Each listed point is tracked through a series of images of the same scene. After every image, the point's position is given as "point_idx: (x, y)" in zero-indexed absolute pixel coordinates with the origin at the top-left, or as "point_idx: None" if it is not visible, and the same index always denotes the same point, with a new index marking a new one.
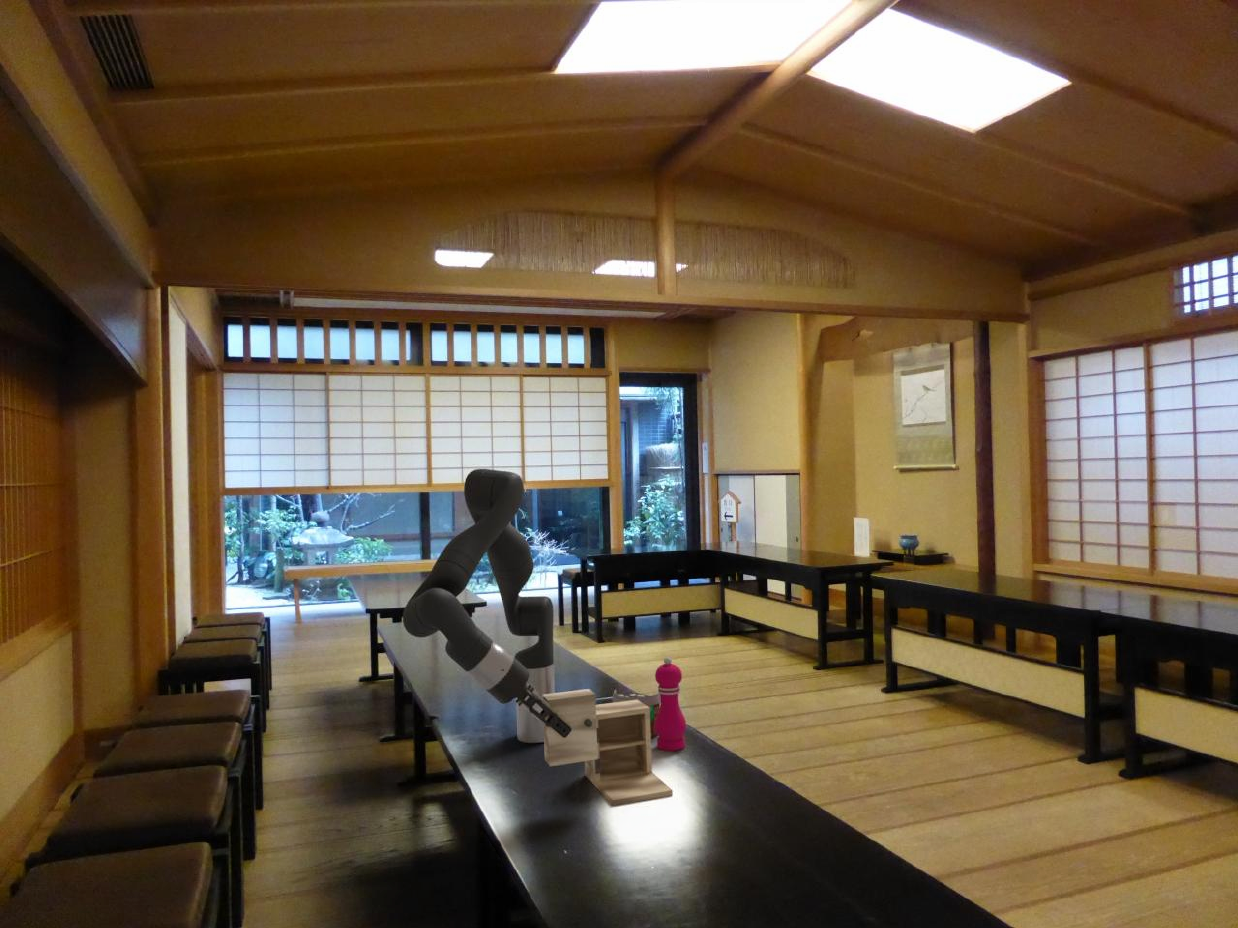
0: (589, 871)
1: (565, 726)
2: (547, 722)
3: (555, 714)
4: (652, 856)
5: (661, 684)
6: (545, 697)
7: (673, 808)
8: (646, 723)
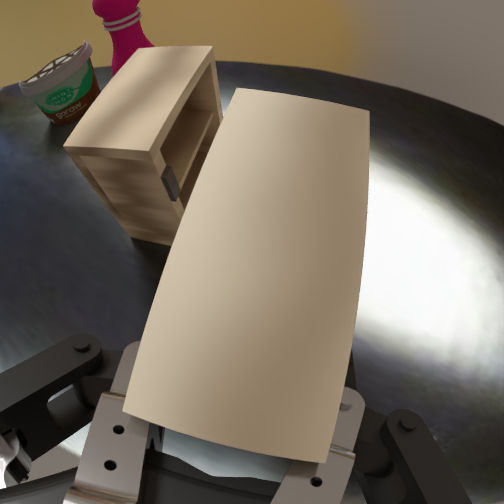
0: (495, 421)
1: (352, 359)
2: (401, 478)
3: (432, 438)
4: (500, 320)
5: (116, 15)
6: (225, 443)
7: (374, 198)
8: (214, 79)
